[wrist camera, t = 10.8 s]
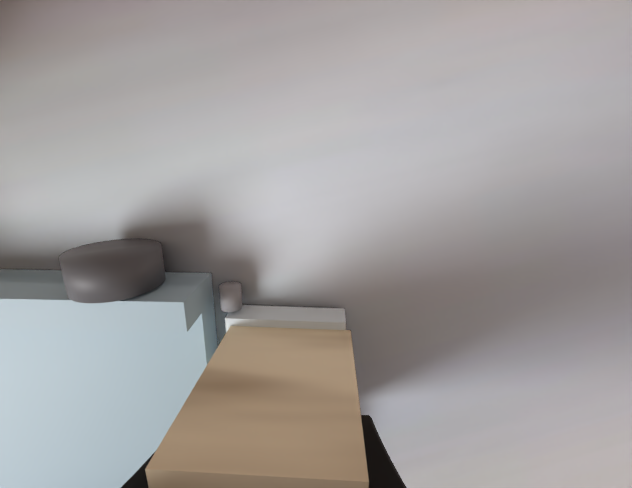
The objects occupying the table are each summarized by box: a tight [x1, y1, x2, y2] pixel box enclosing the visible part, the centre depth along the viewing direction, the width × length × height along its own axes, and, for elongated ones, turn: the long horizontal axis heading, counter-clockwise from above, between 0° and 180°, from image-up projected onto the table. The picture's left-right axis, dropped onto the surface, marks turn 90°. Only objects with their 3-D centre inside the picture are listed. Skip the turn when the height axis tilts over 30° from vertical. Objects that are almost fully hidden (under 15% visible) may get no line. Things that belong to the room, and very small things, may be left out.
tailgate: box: [225, 305, 346, 332], centre depth 15 cm, size 16×2×5 cm
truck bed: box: [0, 239, 242, 488], centre depth 14 cm, size 22×18×3 cm
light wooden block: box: [145, 326, 369, 488], centre depth 10 cm, size 5×5×6 cm
